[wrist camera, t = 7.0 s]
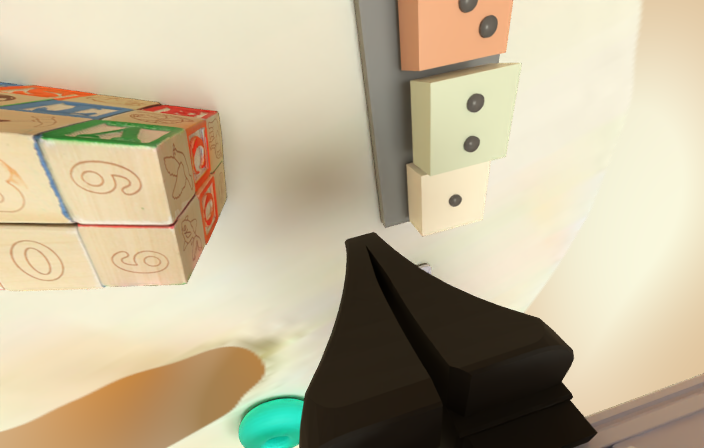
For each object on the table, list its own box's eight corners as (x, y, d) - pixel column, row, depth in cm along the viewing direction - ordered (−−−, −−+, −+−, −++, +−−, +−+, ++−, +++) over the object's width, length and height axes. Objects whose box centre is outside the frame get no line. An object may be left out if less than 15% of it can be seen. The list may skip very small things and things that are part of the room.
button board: (473, 197, 24) (495, 212, 21) (381, 221, 23) (393, 240, 20) (502, -68, 14) (548, -96, 12) (348, -42, 14) (362, -66, 11)
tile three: (477, 54, 16) (508, 52, 14) (401, 70, 15) (421, 71, 13) (487, -61, 13) (528, -87, 11) (395, -46, 13) (418, -69, 10)
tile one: (463, 205, 22) (484, 221, 20) (409, 220, 22) (423, 238, 19) (468, 148, 19) (492, 159, 17) (406, 164, 19) (422, 177, 17)
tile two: (480, 146, 18) (508, 157, 16) (413, 163, 17) (432, 177, 15) (489, 63, 15) (524, 62, 13) (410, 80, 15) (432, 83, 12)
